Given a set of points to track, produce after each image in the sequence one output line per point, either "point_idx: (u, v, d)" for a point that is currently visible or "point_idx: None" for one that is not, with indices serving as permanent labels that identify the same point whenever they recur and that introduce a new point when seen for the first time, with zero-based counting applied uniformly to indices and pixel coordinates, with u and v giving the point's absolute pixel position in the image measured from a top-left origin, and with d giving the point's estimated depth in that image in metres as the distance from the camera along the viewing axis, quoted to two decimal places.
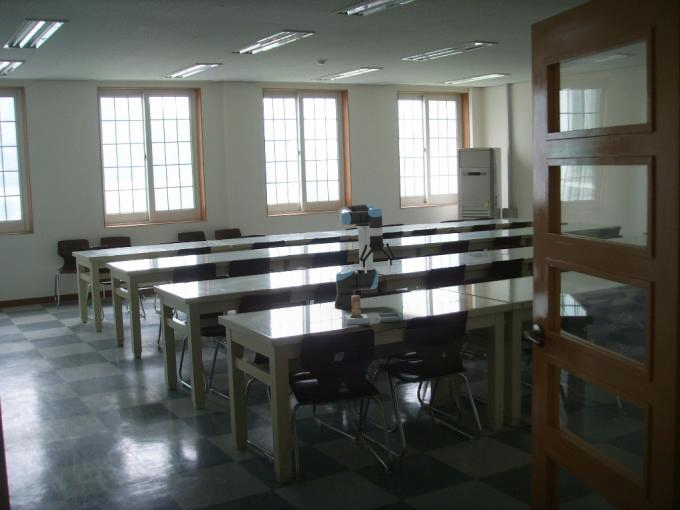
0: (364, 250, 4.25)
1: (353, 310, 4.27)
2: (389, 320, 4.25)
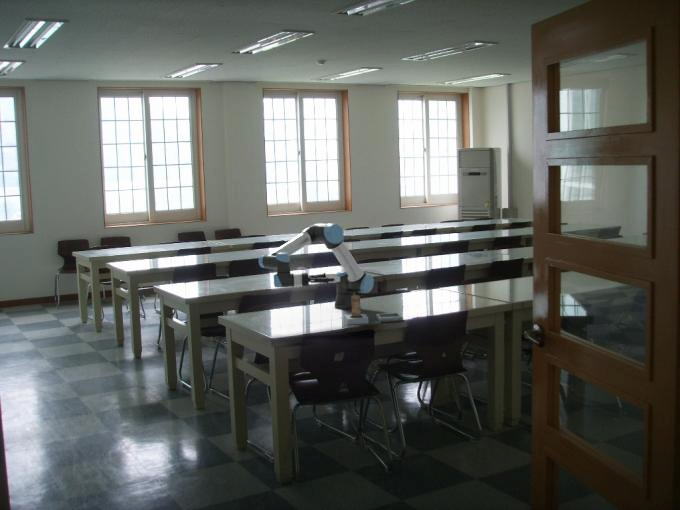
0: None
1: (353, 310, 4.27)
2: (389, 320, 4.25)
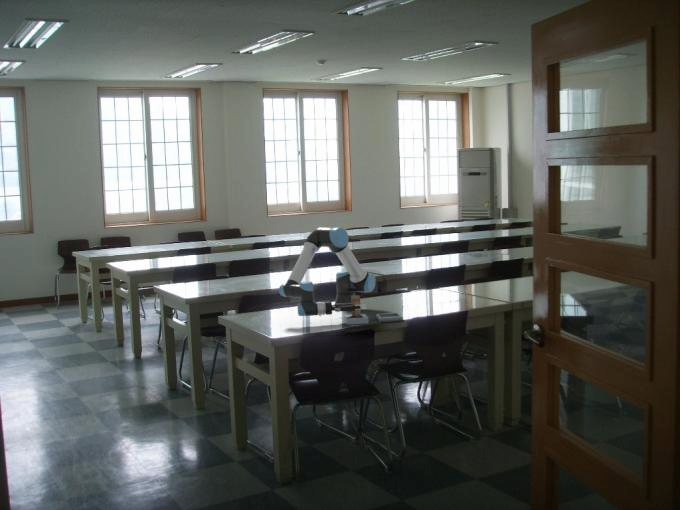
0: None
1: None
2: (389, 320, 4.25)
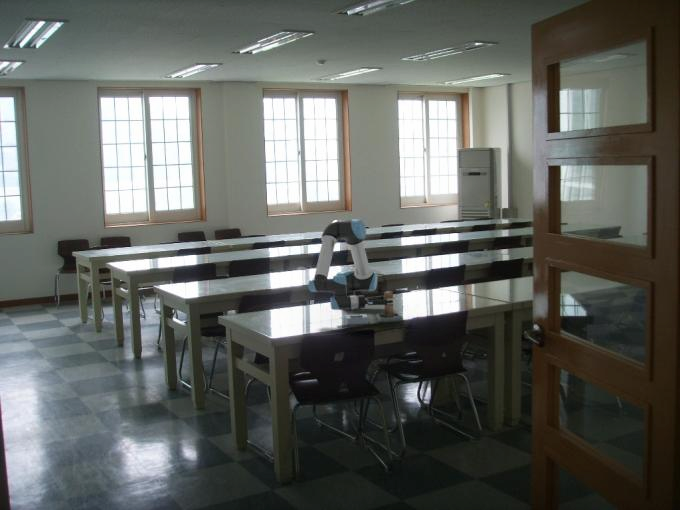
0: None
1: (386, 306, 4.28)
2: (389, 320, 4.25)
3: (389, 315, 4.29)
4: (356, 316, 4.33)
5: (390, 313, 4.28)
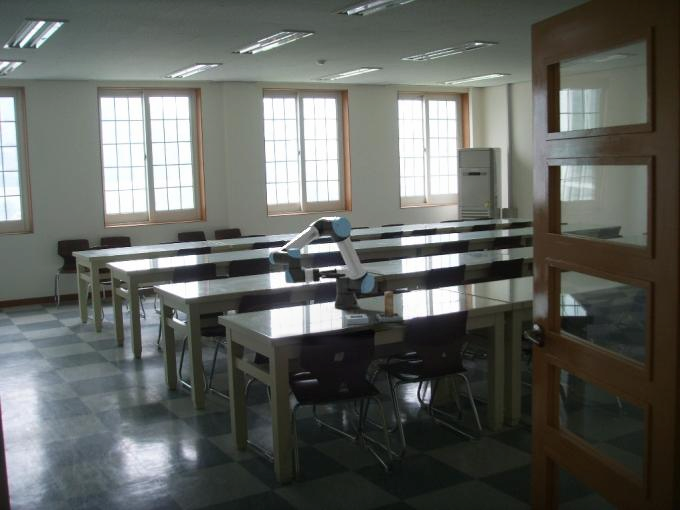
0: None
1: (386, 306, 4.29)
2: (389, 320, 4.25)
3: (389, 315, 4.29)
4: (356, 316, 4.33)
5: (390, 313, 4.29)
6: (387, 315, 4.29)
